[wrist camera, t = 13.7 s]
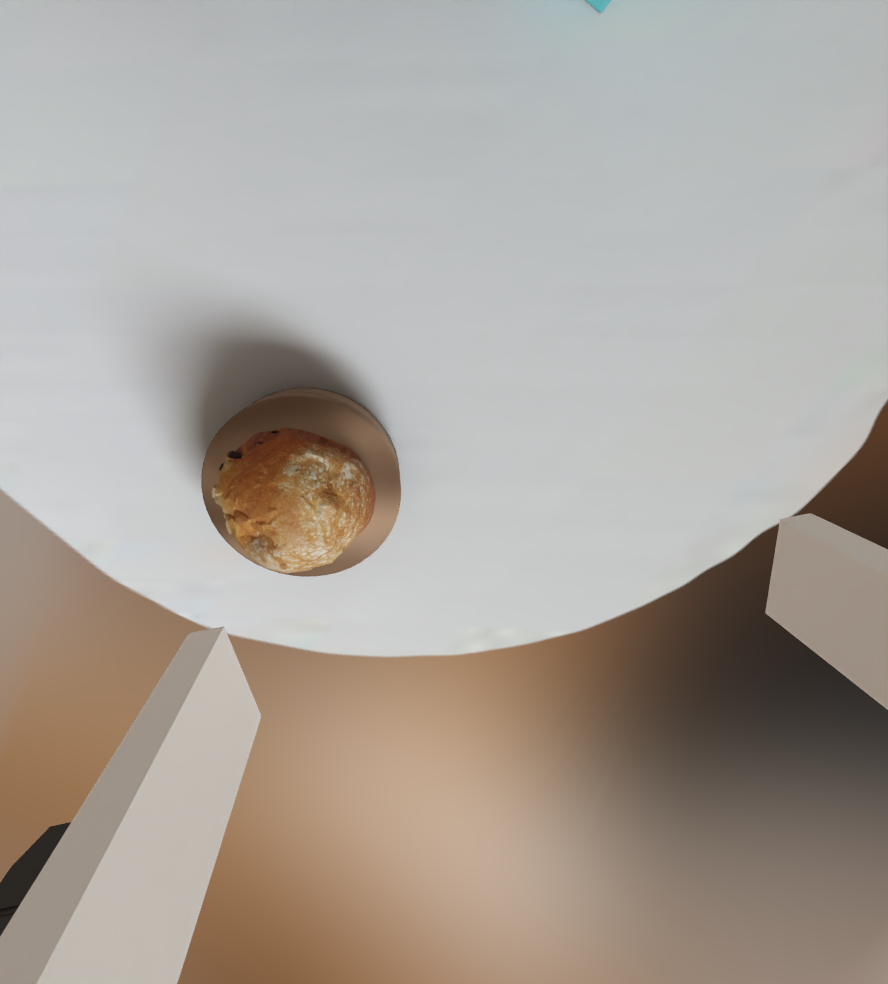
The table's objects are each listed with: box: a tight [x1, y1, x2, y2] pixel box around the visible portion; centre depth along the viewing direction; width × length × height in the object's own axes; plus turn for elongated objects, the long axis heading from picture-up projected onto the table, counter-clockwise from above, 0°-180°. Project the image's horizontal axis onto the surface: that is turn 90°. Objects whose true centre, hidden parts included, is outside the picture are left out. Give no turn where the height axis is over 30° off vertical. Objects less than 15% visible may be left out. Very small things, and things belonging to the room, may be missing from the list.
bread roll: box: [211, 428, 376, 573], centre depth 31 cm, size 10×10×8 cm
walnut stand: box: [202, 388, 401, 576], centre depth 34 cm, size 14×14×4 cm
